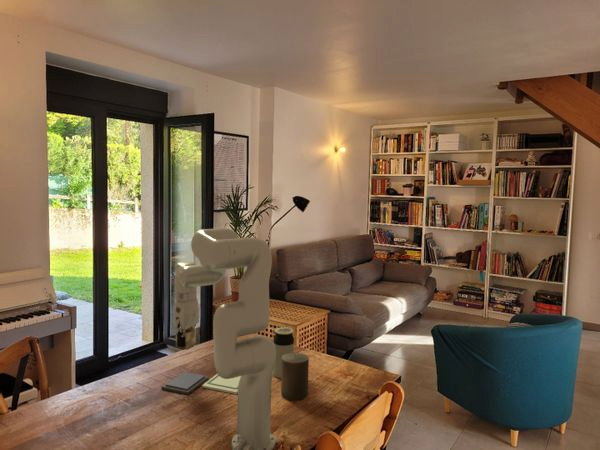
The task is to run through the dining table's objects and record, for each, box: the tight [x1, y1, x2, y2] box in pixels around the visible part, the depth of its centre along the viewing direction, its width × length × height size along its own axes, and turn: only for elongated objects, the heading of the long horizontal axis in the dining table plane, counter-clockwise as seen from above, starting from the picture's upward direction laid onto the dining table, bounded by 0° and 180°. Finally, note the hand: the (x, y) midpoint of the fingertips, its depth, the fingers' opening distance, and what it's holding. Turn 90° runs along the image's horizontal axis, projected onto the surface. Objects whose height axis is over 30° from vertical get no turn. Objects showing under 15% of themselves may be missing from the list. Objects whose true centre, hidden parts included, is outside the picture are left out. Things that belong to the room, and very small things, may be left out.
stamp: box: [175, 327, 196, 351], centre depth 170 cm, size 5×5×8 cm
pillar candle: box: [280, 352, 310, 401], centre depth 165 cm, size 10×10×15 cm
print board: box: [201, 373, 241, 395], centre depth 174 cm, size 16×14×1 cm
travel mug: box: [272, 326, 295, 379], centre depth 181 cm, size 8×8×18 cm
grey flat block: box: [161, 371, 210, 395], centre depth 171 cm, size 14×11×2 cm
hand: (185, 343), depth 170 cm, fingers closed on stamp, 5 cm apart
